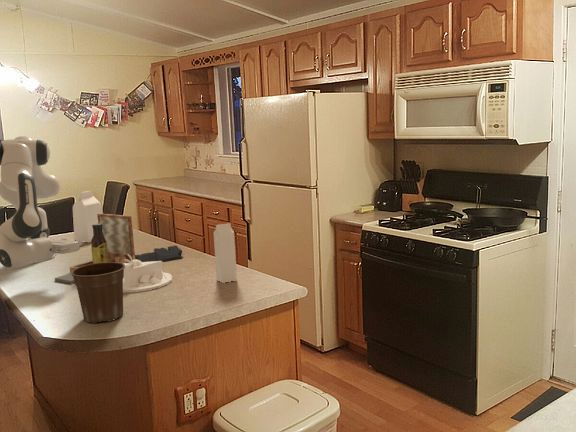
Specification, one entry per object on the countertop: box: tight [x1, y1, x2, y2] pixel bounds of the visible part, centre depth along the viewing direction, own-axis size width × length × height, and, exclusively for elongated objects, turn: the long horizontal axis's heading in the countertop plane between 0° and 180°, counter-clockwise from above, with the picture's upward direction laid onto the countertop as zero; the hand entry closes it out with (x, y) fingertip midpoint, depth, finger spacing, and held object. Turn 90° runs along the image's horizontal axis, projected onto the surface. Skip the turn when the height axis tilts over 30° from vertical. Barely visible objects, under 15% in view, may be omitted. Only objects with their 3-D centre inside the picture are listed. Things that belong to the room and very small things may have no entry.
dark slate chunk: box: [134, 245, 185, 263], centre depth 253 cm, size 15×22×5 cm
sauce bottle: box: [90, 224, 108, 264], centre depth 236 cm, size 6×6×20 cm
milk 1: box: [72, 190, 104, 243], centre depth 299 cm, size 12×12×26 cm
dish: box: [123, 254, 173, 294], centre depth 217 cm, size 25×25×11 cm
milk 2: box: [213, 222, 238, 284], centre depth 213 cm, size 6×6×22 cm
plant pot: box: [71, 262, 125, 324], centre depth 179 cm, size 16×16×16 cm
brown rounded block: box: [115, 256, 126, 264], centre depth 239 cm, size 4×4×5 cm
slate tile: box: [54, 272, 75, 285], centre depth 226 cm, size 10×10×1 cm
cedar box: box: [69, 213, 136, 274], centre depth 237 cm, size 20×18×22 cm
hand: (73, 241), depth 225 cm, fingers open, 8 cm apart
